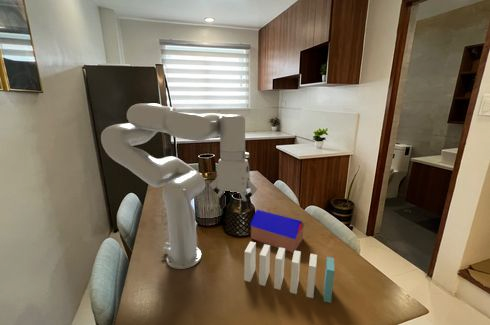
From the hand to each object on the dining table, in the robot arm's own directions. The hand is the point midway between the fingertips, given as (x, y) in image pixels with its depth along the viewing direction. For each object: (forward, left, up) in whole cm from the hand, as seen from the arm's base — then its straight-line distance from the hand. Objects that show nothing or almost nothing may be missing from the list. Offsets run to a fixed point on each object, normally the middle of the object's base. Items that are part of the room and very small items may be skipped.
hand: (233, 208), depth 76 cm
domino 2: (+11, 0, -24) cm, 26 cm away
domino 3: (+16, 0, -24) cm, 29 cm away
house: (+10, +25, -24) cm, 36 cm away
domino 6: (+31, 0, -24) cm, 39 cm away
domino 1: (+6, 0, -24) cm, 24 cm away
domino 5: (+26, 0, -24) cm, 35 cm away
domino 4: (+21, 0, -24) cm, 32 cm away
